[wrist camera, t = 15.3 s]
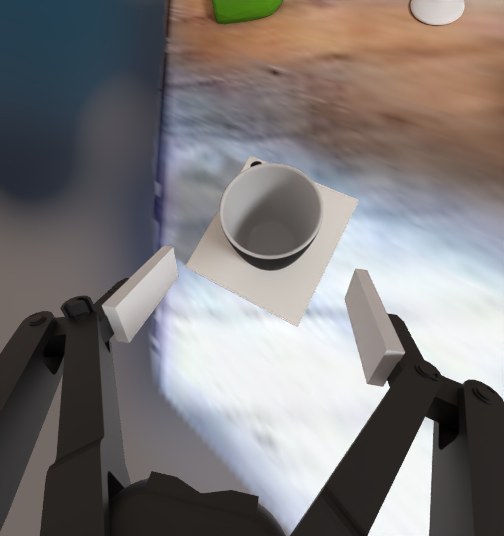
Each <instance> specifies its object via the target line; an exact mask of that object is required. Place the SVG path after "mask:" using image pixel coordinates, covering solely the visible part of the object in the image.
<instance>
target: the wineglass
mask: <svg viewBox="0 0 504 536" xmlns="http://www.w3.org/2000/svg"><path fill="white" fill-rule="evenodd" d="M411 11H412V13H413V15H414V16H415V17H416V18H417V19H418V20H420V21H421V22H423V23H426V24H430V25H445V24H449V23H451V22H453V21H455V20H457V19H458V18H459V17H460V16H461V15H462V13H463V11H464V0H412V1H411Z"/></svg>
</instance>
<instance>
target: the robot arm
mask: <svg viewBox="0 0 504 536" xmlns="http://www.w3.org/2000/svg"><path fill="white" fill-rule="evenodd" d="M177 278H178V272H177V266H176V260H175V254H174V248H173V247H170V246H163V247H162V248H161V249H160V250H159V251H158V252H157V253H156V254H155V255H154V256H153V257H151V258H150V259H149V261H147V262H146V263H145V264H144V265H143V266H142V267H141V268H140V269H139V270H138V271H137V272H136V273H135V274H134V275H133V276H132V277H131V278H125V279H123V280H121V281H119V282H117V283H116V284H115V285H114V286H113V287H112V289H110V290H109V291H108V292H107V293H105V295H103V296H102V297H101V298H100V299H99V300H98V301H97V302H96V303H95V304H93V302H92V300H91V298H90V297H88V296H78V297H74V298H71V299H69V300H68V301H66V302H65V303H64V304H63V305H62V306H61V310H62V312H63V314H64V315H65V317H59V318H55V317H54V315H53V314H52V313H51V312H48V311H42V312H38V313H35V314H33V315H31V316H29V317H27V318H26V319H25V320H24V321H23V322H22V323H21V324H20V326H19V327H18V329H17V330H16V332H15V333H14V334H13V336H12V338H11V339H10V340H9V342H8V343H7V345H6V346H5V348H4V349H3V351H2V352H1V354H0V531H1V529H2V526H3V524H4V522H5V519H6V517H7V515H8V512H9V510H10V507H11V504H12V502H13V499H14V497H15V494H16V492H17V489H18V487H19V484H20V481H21V479H22V476H23V474H24V471H25V469H26V466H27V464H28V461H29V459H30V456H31V453H32V451H33V448H34V446H35V443H36V441H37V438H38V435H39V433H40V431H41V428H42V425H43V423H44V420H45V418H46V415H47V413H48V410H49V408H50V405H51V403H52V400H53V397H54V395H55V392H56V390H57V387H58V385H59V382H60V379H61V377H62V374H63V381H62V393H61V406H60V419H59V431H58V445H57V456H56V461H55V463H54V464H52V465H51V466H50V467H49V469H48V471H47V476H46V482H45V491H44V502H43V510H42V520H41V531H40V536H286V535H285V533H284V532H283V530H282V528H281V526H280V525H279V523H278V522H277V520H276V519H275V518H274V517H273V515H272V514H271V513H270V512H269V511H268V510H267V509H265V508H264V507H263V506H261V505H260V504H259V503H258V497H259V496H255V495H250V494H246V493H241V492H237V491H233V490H229V491H220V492H211V493H199V492H198V491H196V490H195V489H193V488H192V487H190V486H189V485H188V484H186V483H184V482H183V481H182V480H180V479H179V478H177V477H174V476H170V475H166V474H161V473H157V472H153V471H152V472H151V474H150V477H149V479H144V480H141V481H138V482H136V483H134V484H130V479H129V475H128V472H127V468H126V465H125V458H124V449H123V440H122V432H121V423H120V415H119V406H118V397H117V389H116V380H115V372H114V363H113V354H112V346H111V342H110V338H111V337H112V336H113V335H115V338H116V340H117V341H121V342H127V343H130V341H131V340H132V339H133V337H134V335H135V334H136V333H137V332H138V330H139V329H140V328H141V326H142V325H143V324H144V322H145V321H146V320H147V318H148V317H149V316H150V314H151V313H152V312H153V310H154V309H155V308H156V306H157V305H158V304H159V302H160V301H161V299H162V298H163V297H164V295H165V294H166V293H167V291H168V290H169V289H170V287H171V286H172V285H173V283H174V282H175V281H176V279H177ZM345 303H346V306H347V310H348V314H349V318H350V321H351V325H352V329H353V333H354V336H355V340H356V344H357V348H358V352H359V355H360V359H361V363H362V367H363V370H364V374H365V378H366V382H367V384H371V385H376V386H382V387H383V386H384V384H385V383H386V381H388V384H389V386H390V389H389V390H388V392H387V393H386V395H385V396H384V397H383V399H382V401H381V402H380V404H379V405H378V406H377V408H376V409H375V411H374V412H373V414H372V415H371V417H370V418H369V420H368V421H367V423H366V424H365V426H364V427H363V429H362V430H361V432H360V433H359V435H358V436H357V438H356V439H355V441H354V442H353V443H352V445H351V446H350V448H349V449H348V451H347V452H346V454H345V455H344V457H343V458H342V460H341V461H340V463H339V464H338V466H337V467H336V469H335V470H334V472H333V473H332V475H331V476H330V478H329V479H328V480H327V482H326V483H325V485H324V486H323V488H322V489H321V491H320V492H319V494H318V495H317V497H316V498H315V500H314V501H313V503H312V504H311V506H310V507H309V509H308V510H307V512H306V513H305V514H304V516H303V517H302V519H301V520H300V522H299V523H298V525H297V526H296V528H295V529H294V531H293V532H292V534H291V535H290V536H368V533H369V531H370V529H371V527H372V525H373V523H374V521H375V519H376V517H377V514H378V512H379V510H380V508H381V506H382V504H383V502H384V500H385V498H386V496H387V494H388V492H389V490H390V488H391V486H392V484H393V481H394V479H395V477H396V475H397V473H398V471H399V469H400V467H401V465H402V463H403V461H404V459H405V457H406V455H407V453H408V451H409V448H410V446H411V444H412V442H413V440H414V438H415V436H416V434H417V432H418V430H419V428H420V426H421V424H422V422H423V420H424V418H425V417H427V418H429V419H432V420H434V431H433V456H432V480H431V505H430V530H429V536H504V402H503V399H502V398H501V397H500V396H499V394H498V393H497V392H496V391H494V390H493V389H492V388H491V387H489V386H488V385H486V384H484V383H482V382H479V381H476V380H467V381H465V382H464V383H463V384H461V383H458V382H456V381H453V380H451V379H448V378H446V377H444V376H442V375H441V374H440V372H439V371H438V370H437V368H436V367H435V366H433V365H432V364H431V363H429V362H427V361H425V360H424V359H423V357H422V355H421V353H420V351H419V349H418V348H417V346H416V344H415V342H414V340H413V338H412V337H411V334H410V332H409V331H408V329H407V327H406V325H405V323H404V321H402V320H401V319H400V318H399V317H398V316H397V315H394V314H387V312H386V310H385V308H384V306H383V304H382V301H381V299H380V297H379V295H378V293H377V291H376V288H375V286H374V284H373V282H372V280H371V278H370V276H369V273H368V271H367V270H363V269H355V271H354V274H353V277H352V279H351V282H350V285H349V288H348V291H347V294H346V296H345Z"/></svg>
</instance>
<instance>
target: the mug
mask: <svg viewBox="0 0 504 536" xmlns="http://www.w3.org/2000/svg"><path fill="white" fill-rule="evenodd" d="M219 217H220V223H221V227H222V229H223V232H224V234H225V236H226V238H227V240H228V241H229V243H230V244H231V246H232V247H233V248H234V250H235V251H236V252H237V253H238V254H239V255H240V256H241V257H242V258H243V259H244V260H245V261H246V262H248V263H249V264H250V265H252V266H254V267H256V268H258V269H261V270H266V271H275V270H280V269H283V268H285V267H287V266H289V265H291V264H292V263H294V262H295V261H296V260H298V259H299V258H300V257H301V256H302V255H303V254H304V252H305V251H306V250H307V249H308V248H309V246H310V245H311V243H312V242H313V241H314V239H315V237H316V235H317V234H318V231H319V229H320V227H321V223H322V219H323V201H322V197H321V194H320V192H319V190H318V188H317V186H316V185H315V183H314V182H313V181H312V180H311V179H310V177H308V176H307V175H306V174H305V173H303V172H302V171H300V170H299V169H297V168H295V167H292V166H289V165H286V164H281V163H264V164H262V163H261V162H260V161H255V162H253V163H251V165H250V168H248V169H246V170H244V171H243V172H241V173H240V174H238V175H237V176H236V177H235V178H234V179H233V180H232V181H231V182H230V183H229V185H228V186H227V188H226V189H225V191H224V193H223V195H222V198H221V202H220V208H219Z"/></svg>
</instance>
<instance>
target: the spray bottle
mask: <svg viewBox="0 0 504 536" xmlns="http://www.w3.org/2000/svg"><path fill="white" fill-rule="evenodd" d="M282 1H283V0H212V3H213V8H214V13H215V17H216V20H217V22H218V23H220V24H230V23H237V22H245V21H251V20H256V19H260V18H264V17H267V16H270V15H271V14H273V13H274V12H275V11H276V10H277V9H278V8H279V6H280V5H281V3H282Z"/></svg>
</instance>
